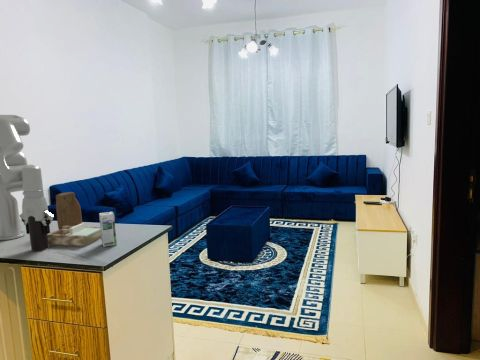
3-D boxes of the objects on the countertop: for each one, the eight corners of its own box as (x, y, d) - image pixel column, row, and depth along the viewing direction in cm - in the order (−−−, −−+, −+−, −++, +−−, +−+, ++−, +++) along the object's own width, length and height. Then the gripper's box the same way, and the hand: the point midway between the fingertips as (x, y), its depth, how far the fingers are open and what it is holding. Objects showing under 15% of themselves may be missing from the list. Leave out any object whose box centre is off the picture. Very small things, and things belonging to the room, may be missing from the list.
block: (64, 234, 186) (60, 195, 183) (57, 232, 191) (52, 193, 188) (84, 229, 194) (80, 191, 191) (77, 227, 199) (73, 190, 196)
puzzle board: (41, 244, 170) (40, 234, 170) (64, 234, 185) (63, 225, 184) (83, 246, 165) (82, 236, 165) (103, 236, 180) (102, 227, 179)
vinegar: (31, 252, 160) (26, 207, 157) (31, 248, 165) (26, 204, 163) (49, 249, 163) (44, 204, 160) (48, 245, 169) (43, 202, 166)
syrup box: (103, 247, 163) (100, 215, 161) (101, 243, 168) (98, 212, 166) (116, 245, 166) (114, 213, 164) (114, 241, 171) (112, 210, 169)
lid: (65, 236, 169) (64, 229, 168) (81, 229, 180) (81, 222, 179) (86, 237, 166) (85, 229, 166) (102, 230, 177) (101, 223, 177)
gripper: (10, 196, 159) (15, 235, 162) (44, 196, 155) (49, 236, 157) (24, 192, 166) (28, 230, 169) (57, 193, 162) (61, 231, 165)
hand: (38, 233), depth 163 cm, fingers open, 8 cm apart
